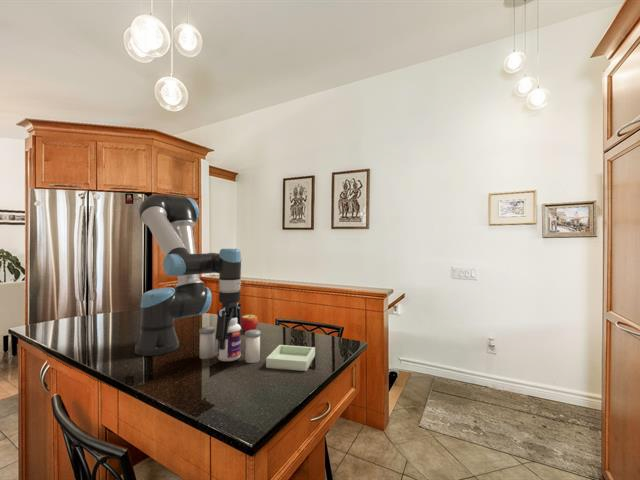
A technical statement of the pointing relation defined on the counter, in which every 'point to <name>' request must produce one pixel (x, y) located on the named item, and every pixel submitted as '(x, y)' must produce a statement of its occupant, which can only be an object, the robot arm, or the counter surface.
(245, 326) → the apple
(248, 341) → the canister
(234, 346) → the pill bottle
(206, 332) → the canister
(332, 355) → the counter surface
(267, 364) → the tray
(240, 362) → the counter surface
